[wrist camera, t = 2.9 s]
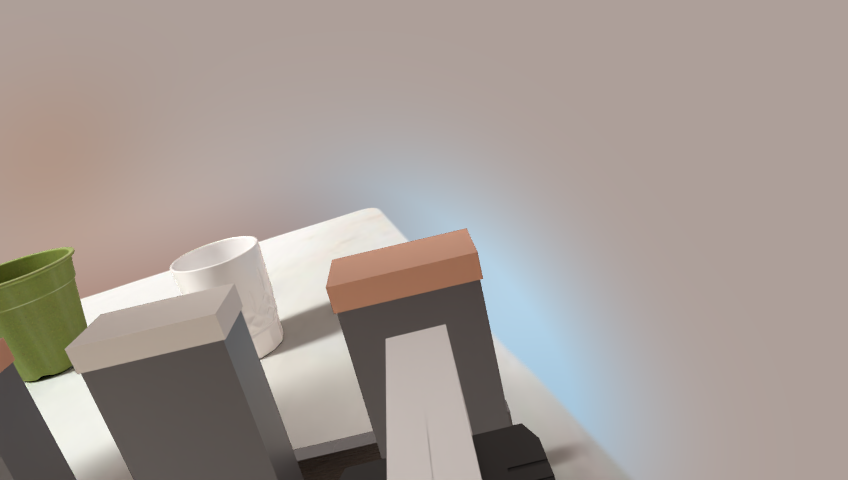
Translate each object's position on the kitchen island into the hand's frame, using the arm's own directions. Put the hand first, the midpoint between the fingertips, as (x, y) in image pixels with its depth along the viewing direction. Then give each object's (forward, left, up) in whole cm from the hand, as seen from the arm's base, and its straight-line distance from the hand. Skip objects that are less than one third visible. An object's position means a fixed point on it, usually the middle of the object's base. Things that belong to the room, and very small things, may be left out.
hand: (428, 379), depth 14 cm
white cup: (-36, +21, -16) cm, 44 cm away
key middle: (-11, 0, -14) cm, 18 cm away
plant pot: (-59, +14, -16) cm, 63 cm away
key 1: (-4, +5, -14) cm, 16 cm away
